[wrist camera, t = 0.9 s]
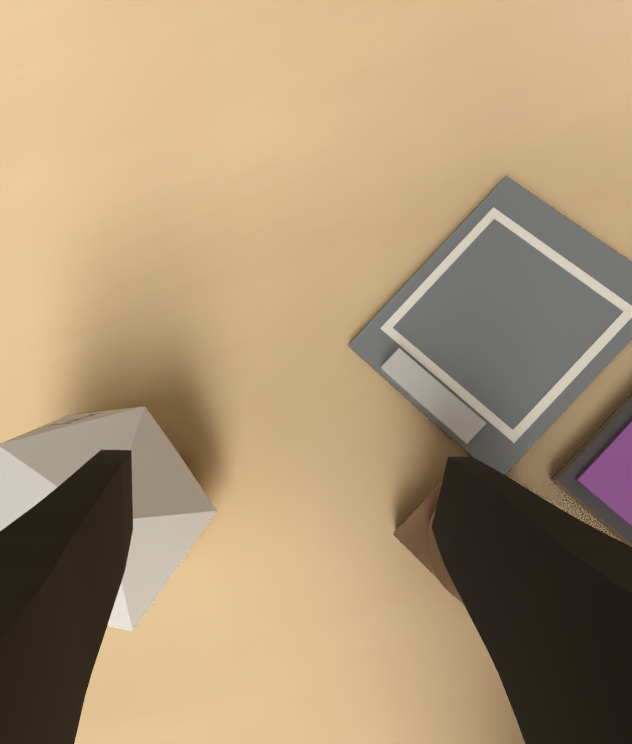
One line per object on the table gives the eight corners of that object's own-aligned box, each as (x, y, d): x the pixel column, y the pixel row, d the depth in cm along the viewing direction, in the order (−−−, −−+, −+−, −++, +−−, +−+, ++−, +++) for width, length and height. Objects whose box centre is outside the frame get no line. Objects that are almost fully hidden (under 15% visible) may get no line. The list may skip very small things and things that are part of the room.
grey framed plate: (672, 294, 22) (682, 287, 22) (498, 480, 22) (501, 480, 22) (505, 179, 25) (508, 168, 24) (349, 346, 25) (346, 342, 24)
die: (274, 480, 25) (135, 338, 19) (199, 686, 20) (-28, 579, 14) (155, 480, 30) (12, 366, 24) (68, 648, 24) (-147, 556, 18)
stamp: (545, 531, 22) (587, 552, 16) (473, 607, 22) (490, 656, 16) (463, 458, 23) (475, 452, 17) (395, 530, 23) (385, 549, 17)
